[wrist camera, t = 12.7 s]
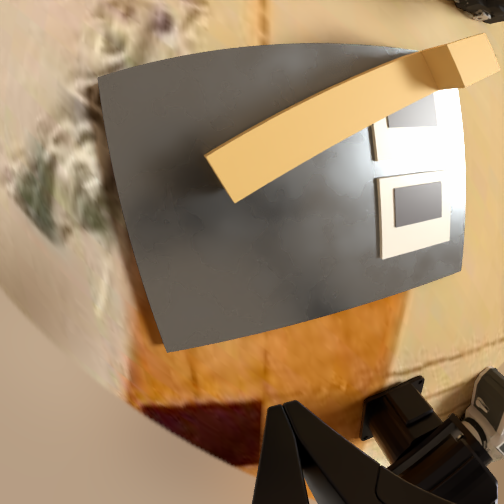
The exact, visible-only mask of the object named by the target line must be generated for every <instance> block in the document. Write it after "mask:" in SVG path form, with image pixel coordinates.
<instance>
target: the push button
mask: <svg viewBox="0 0 504 504" xmlns="http://www.w3.org/2000/svg"><path fill="white" fill-rule="evenodd" d="M454 1H455V3H456V6H457V7H458V8H460V9H463V10H465V11H468V12H470V13H472V14H475V15H477V16H474V17H473V19H475V20H477V21H482V20H484V22H486V23H489V24H491V23H496V22H501V21H504V0H454ZM478 18H481V19H478Z"/></svg>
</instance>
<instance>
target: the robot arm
mask: <svg viewBox="0 0 504 504" xmlns="http://www.w3.org/2000/svg"><path fill="white" fill-rule="evenodd" d="M423 384H424V378H423V377H422V376H418V377H416V378H414V379H412V380H410V381H407V382H405V383H403V384H401V385H398V386H396V387H394V388H392V389H389V390H387V391H384V392H382V393H380V394H377V395H375V396H372V397H370V398H368V399H366V400H365V401H364V405H363V414H362V423H361V430H360V439H361V440H362V441H364V440H367V439H370V438H372V437H374V438H375V440H376V442H377V443H378V445H379V447H380V448H381V450H382V451H383V453H384V455H385V456H386V458H387V460H388V461H389V463H390V464H391V465H390V466H389V467H387V468H385V467H384V466H382V465H381V466H380V464H379V463H378V462H377V461H375V460H374V459H372V458H371V457H370V456H368V455H367V454H366V453H364V452H363V451H361V450H360V449H359V448H357V447H356V446H355V445H353V444H352V443H351V442H349V441H348V440H347V439H345V438H344V437H343V436H341V435H340V434H339V433H337V432H336V431H335V430H334V429H332V428H331V427H330V426H328V425H327V424H326V423H325V422H323V421H322V420H321V419H320V418H318V417H317V416H316V415H315V414H313V413H312V412H311V411H310V410H308V409H307V408H306V407H305V406H303V405H302V404H301V403H300V402H298V401H297V400H293V401H290V402H286V403H284V404H283V406H282V405H281V404H279V405H275V406H271V407H269V408H268V409H267V415H266V422H265V428H264V435H263V441H262V447H261V454H260V460H259V466H258V472H257V478H256V484H255V489H254V495H253V500H252V504H309V500H308V495H307V490H306V485H305V480H306V482H307V484H308V486H309V488H310V490H311V492H312V494H313V496H314V498H315V499H316V501H317V503H318V504H498V501H497V500H498V483H497V480H496V478H495V477H494V476H493V474H492V473H491V472H490V471H489V469H488V468H487V467H486V466H487V465H488V464H490V463H491V462H492V461H493V459H492V457H491V456H490V455H489V453H488V452H487V451H486V450H485V448H484V447H483V446H482V445H481V444H480V442H479V441H478V440H477V439H476V438H475V437H474V435H473V434H472V433H471V432H470V431H469V430H468V429H467V428H466V427H465V425H464V424H463V423H462V422H461V421H460V420H459V419H458V418H457V417H456V416H455V414H454V413H452V414H451V415H449V416H448V417H449V418H448V419H446V420H445V421H444V422H442V420H441V419H440V418H439V417H438V416H437V414H436V413H435V412H434V411H433V408H432V407H431V406H430V405H429V403H428V402H427V401H426V400H425V399H424V397H423V396H422V395H421V392H422V388H423ZM460 434H462V436H461V437H460V438H459V439H458V440H456V438H457V437H458V436H459V435H460ZM304 478H305V480H304Z"/></svg>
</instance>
